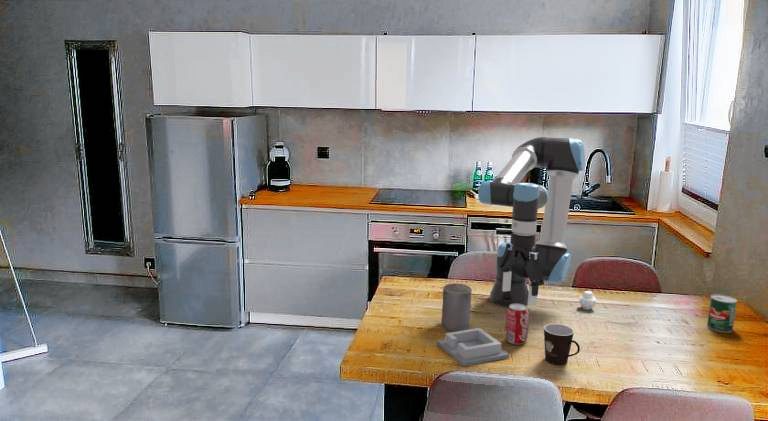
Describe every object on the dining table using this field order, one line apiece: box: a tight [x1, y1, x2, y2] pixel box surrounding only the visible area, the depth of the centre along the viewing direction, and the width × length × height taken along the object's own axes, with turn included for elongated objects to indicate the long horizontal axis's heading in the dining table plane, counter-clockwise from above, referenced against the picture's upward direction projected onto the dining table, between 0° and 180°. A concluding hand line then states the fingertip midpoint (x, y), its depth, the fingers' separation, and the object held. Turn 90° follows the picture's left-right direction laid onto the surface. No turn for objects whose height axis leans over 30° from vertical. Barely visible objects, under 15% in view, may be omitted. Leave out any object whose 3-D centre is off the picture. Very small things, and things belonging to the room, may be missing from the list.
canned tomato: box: [706, 293, 738, 334], centre depth 195 cm, size 8×8×11 cm
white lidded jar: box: [578, 290, 597, 311], centre depth 211 cm, size 6×6×7 cm
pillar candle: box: [441, 283, 473, 332], centre depth 192 cm, size 10×10×15 cm
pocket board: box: [437, 327, 510, 367], centre depth 174 cm, size 16×16×4 cm
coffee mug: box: [543, 323, 581, 366], centre depth 167 cm, size 12×9×10 cm
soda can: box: [504, 303, 530, 346], centre depth 181 cm, size 7×7×12 cm
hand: (518, 297), depth 179 cm, fingers open, 13 cm apart
